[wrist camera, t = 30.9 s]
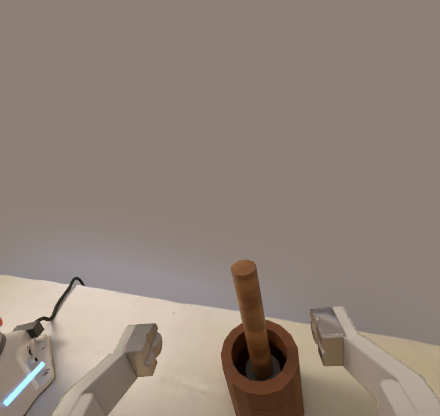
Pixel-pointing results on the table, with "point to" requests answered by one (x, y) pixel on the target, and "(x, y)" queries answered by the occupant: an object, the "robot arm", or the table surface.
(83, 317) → the table surface
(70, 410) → the robot arm
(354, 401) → the table surface
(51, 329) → the table surface
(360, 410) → the table surface
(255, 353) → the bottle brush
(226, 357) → the cylindrical container
